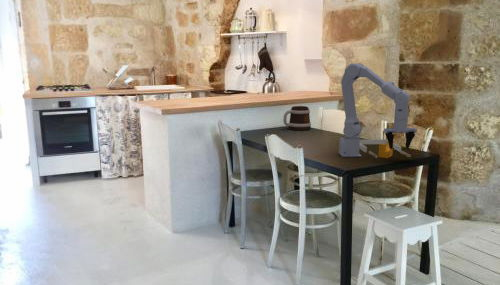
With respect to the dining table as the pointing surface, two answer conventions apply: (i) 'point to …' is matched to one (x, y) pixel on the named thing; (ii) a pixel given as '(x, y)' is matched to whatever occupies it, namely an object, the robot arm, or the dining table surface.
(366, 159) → the dining table surface
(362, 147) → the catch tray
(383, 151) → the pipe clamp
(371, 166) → the dining table surface
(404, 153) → the slot guide
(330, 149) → the dining table surface
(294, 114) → the mug
